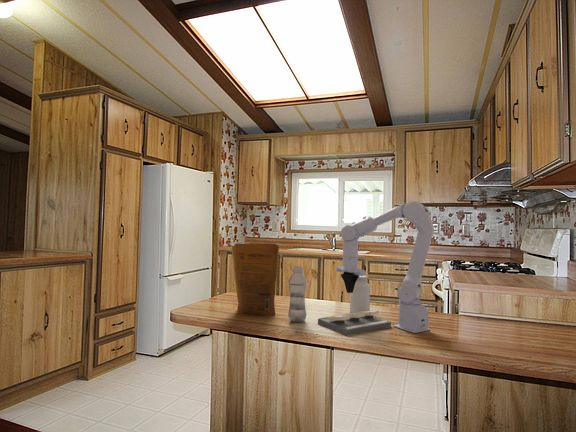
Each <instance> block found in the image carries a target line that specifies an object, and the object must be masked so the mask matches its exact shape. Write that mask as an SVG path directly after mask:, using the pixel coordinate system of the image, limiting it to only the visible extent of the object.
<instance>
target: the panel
mask: <svg viewBox="0 0 576 432" xmlns="http://www.w3.org/2000/svg"><path fill="white" fill-rule="evenodd" d="M349 313H350V312H349ZM349 313H347V314H349ZM355 313H358V312H355ZM345 314H346V313H344V314H343V313H342V314H338V315H339V316H344V315H345ZM329 317H330V315H329V316H324V317H319V318H318V319H317V324H318V325H321V326H322V327H325V328H328V329H330V330H333V331H334V332H335V331H336V332H338V333H341V334H343V335H346V336H352V335H357V334H358V335H359V334H363V333H368V332H373V331H378V330H385V329H389V328H391V327H392V322H391V321H389V320H386V319H382V318H379V317H375V315H370V316H365V317H359V318H350V319H347V320H329Z"/></svg>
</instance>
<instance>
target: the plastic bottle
mask: <svg viewBox="0 0 576 432" xmlns="http://www.w3.org/2000/svg"><path fill="white" fill-rule="evenodd" d="M303 273H304V267H303V266H292V275H290V277H289V279H288V289H289V307H288V313H287V316H288V319H289V321H290V322H294V323H302V322H305V321H306V319H307V309H306V301H305V299H306V289H307V278H306V276H305V275H304V274H303Z"/></svg>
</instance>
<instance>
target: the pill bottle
mask: <svg viewBox="0 0 576 432" xmlns="http://www.w3.org/2000/svg"><path fill="white" fill-rule="evenodd" d="M367 281H368V276H367V275H365V276H360V275H359V278H358V279H357V281H356V283H355V286H354V290H353V293H349V294H350V295H349V313H355V312H361V311H371V310H370V305H371V303H370V302H371V301H370V300H371V285H370V283H368V282H367Z"/></svg>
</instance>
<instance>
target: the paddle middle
mask: <svg viewBox="0 0 576 432" xmlns="http://www.w3.org/2000/svg"><path fill="white" fill-rule="evenodd" d="M344 314H345V315H344V316H348V315H349V317H350V318H359V317H365V314H364V313H351V312H349V314H348V313H344Z"/></svg>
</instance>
